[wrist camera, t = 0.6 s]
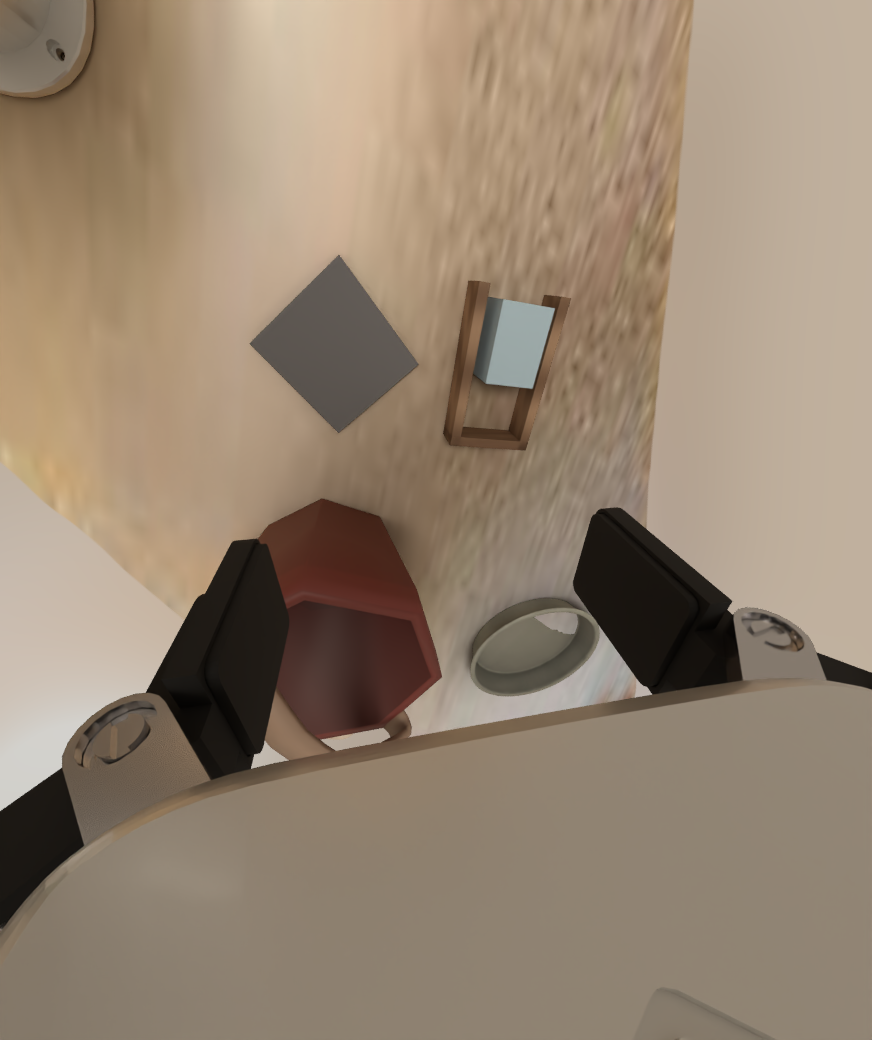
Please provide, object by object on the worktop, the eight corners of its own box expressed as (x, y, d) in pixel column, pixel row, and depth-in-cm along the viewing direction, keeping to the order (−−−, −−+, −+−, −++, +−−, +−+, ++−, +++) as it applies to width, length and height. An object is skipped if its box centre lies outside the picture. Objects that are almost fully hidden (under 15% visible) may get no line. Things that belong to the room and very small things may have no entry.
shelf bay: (468, 280, 34) (479, 281, 31) (553, 296, 36) (571, 298, 33) (443, 433, 42) (450, 445, 39) (514, 439, 44) (525, 450, 41)
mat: (251, 342, 33) (249, 343, 32) (339, 255, 31) (338, 254, 30) (338, 430, 39) (338, 432, 38) (417, 362, 37) (418, 364, 36)
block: (485, 296, 35) (503, 299, 31) (531, 304, 36) (554, 308, 32) (471, 372, 39) (485, 383, 35) (513, 377, 40) (532, 388, 36)
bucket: (424, 594, 56) (468, 775, 36) (285, 634, 55) (248, 845, 34) (382, 453, 42) (416, 622, 21) (192, 503, 40) (37, 732, 20)
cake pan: (565, 668, 78) (575, 688, 74) (455, 683, 72) (461, 704, 69) (605, 585, 64) (621, 604, 61) (475, 595, 59) (484, 616, 55)
